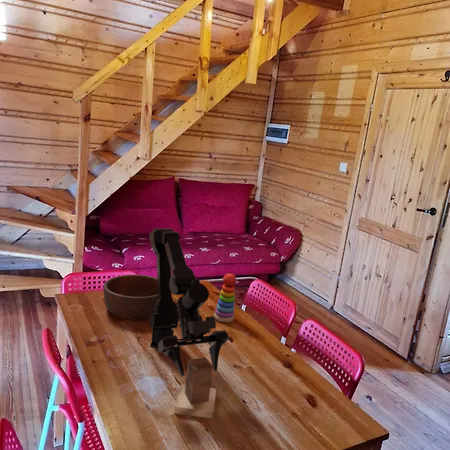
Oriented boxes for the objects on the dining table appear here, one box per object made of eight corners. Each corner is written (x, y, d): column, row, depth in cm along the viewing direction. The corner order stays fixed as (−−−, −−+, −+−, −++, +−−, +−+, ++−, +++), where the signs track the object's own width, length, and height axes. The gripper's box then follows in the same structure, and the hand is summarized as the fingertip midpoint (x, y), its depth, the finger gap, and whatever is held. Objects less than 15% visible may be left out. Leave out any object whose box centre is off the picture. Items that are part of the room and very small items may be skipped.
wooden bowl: (136, 330, 151) (138, 303, 149) (88, 309, 164) (89, 284, 162) (179, 309, 172) (182, 285, 170) (134, 292, 185) (135, 269, 183)
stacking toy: (219, 324, 163) (224, 278, 159) (210, 315, 170) (215, 270, 166) (237, 322, 167) (243, 276, 163) (228, 313, 174) (233, 269, 169)
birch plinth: (174, 413, 110) (174, 406, 109) (179, 390, 120) (180, 384, 119) (212, 418, 110) (213, 411, 109) (215, 395, 119) (216, 388, 119)
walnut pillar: (184, 393, 115) (187, 359, 113) (201, 390, 117) (205, 357, 115) (190, 404, 111) (194, 369, 109) (208, 401, 113) (212, 367, 111)
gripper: (164, 308, 109) (173, 370, 102) (230, 303, 117) (243, 360, 110) (154, 323, 118) (162, 381, 111) (216, 317, 126) (227, 371, 119)
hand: (199, 373), depth 112 cm, fingers open, 9 cm apart
